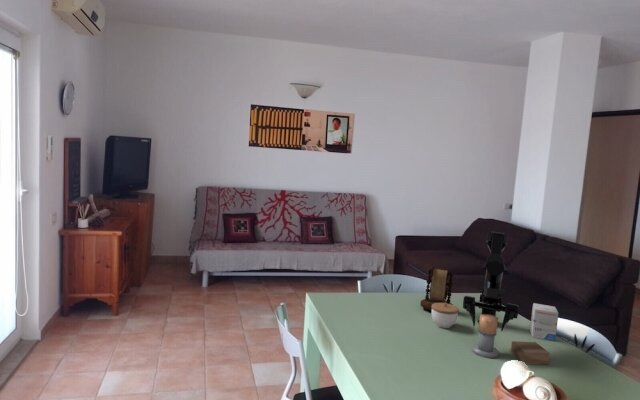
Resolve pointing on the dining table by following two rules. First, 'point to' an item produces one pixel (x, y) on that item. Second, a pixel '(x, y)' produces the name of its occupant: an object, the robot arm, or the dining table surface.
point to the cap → (488, 324)
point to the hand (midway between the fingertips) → (487, 328)
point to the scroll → (437, 288)
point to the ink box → (544, 322)
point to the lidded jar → (444, 314)
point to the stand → (530, 352)
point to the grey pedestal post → (485, 346)
